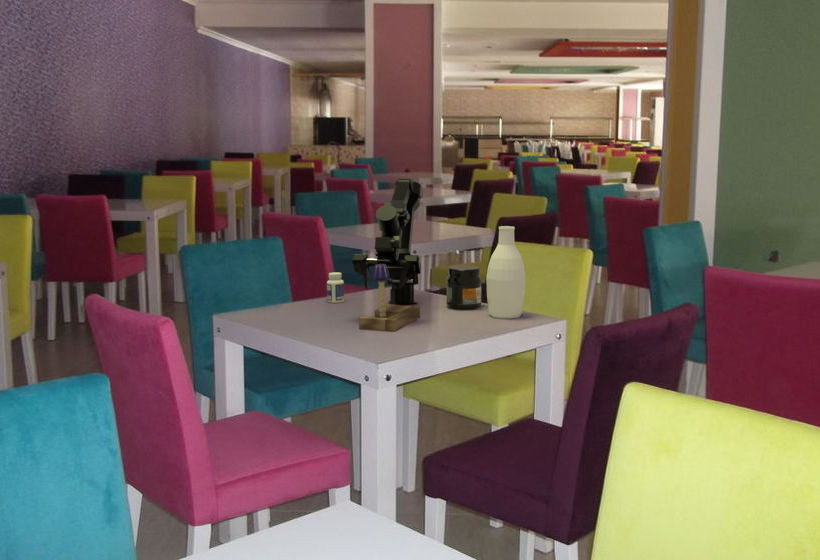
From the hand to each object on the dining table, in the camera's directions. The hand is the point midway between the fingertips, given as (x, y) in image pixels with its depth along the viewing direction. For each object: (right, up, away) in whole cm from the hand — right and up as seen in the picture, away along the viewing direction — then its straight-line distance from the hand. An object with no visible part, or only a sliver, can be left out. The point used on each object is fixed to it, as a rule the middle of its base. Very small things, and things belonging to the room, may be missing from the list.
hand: (382, 288), depth 252 cm
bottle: (+35, -8, +13) cm, 38 cm away
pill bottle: (-16, -4, +35) cm, 39 cm away
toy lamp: (0, -10, +1) cm, 10 cm away
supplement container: (+24, -6, +26) cm, 35 cm away
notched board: (+2, -9, +4) cm, 10 cm away
